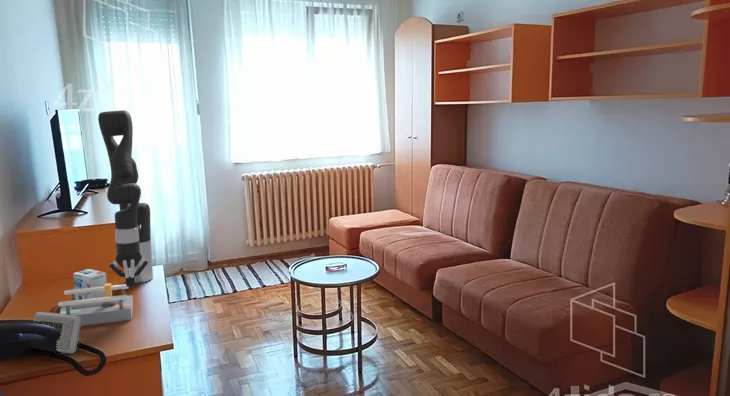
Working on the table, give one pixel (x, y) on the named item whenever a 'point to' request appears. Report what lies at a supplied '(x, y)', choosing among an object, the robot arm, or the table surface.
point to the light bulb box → (89, 283)
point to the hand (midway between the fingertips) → (130, 287)
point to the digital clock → (63, 329)
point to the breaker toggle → (108, 294)
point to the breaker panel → (98, 306)
